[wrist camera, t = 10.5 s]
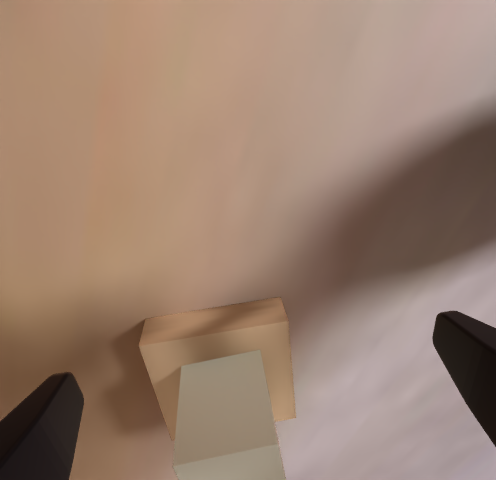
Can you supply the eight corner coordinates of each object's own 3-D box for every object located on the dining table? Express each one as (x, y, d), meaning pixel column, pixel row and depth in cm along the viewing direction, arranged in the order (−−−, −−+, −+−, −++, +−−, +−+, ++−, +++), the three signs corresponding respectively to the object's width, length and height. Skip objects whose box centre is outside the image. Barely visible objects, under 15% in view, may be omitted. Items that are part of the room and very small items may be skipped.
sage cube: (260, 349, 21) (278, 443, 16) (270, 402, 23) (290, 500, 18) (181, 366, 21) (172, 466, 16) (199, 417, 23) (197, 520, 18)
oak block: (278, 292, 23) (288, 321, 20) (286, 383, 27) (295, 417, 24) (146, 313, 22) (138, 346, 20) (175, 403, 27) (171, 440, 24)
